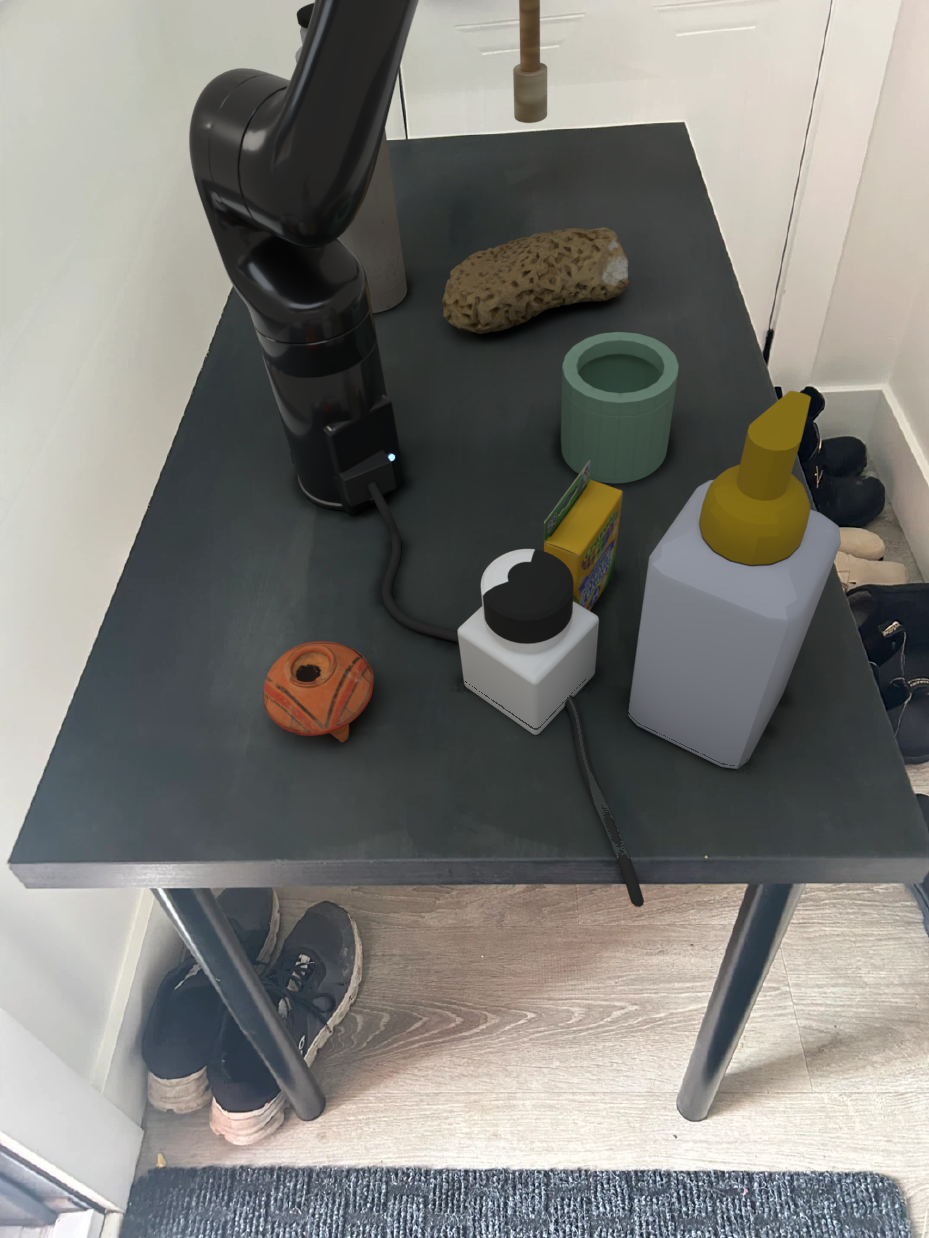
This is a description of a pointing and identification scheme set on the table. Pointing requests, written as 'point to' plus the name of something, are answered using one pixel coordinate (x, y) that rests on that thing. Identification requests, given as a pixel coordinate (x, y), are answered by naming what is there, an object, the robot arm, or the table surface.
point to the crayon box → (586, 535)
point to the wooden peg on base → (530, 67)
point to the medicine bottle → (528, 638)
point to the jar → (617, 405)
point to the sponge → (534, 278)
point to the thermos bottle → (374, 223)
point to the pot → (318, 689)
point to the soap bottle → (732, 597)
